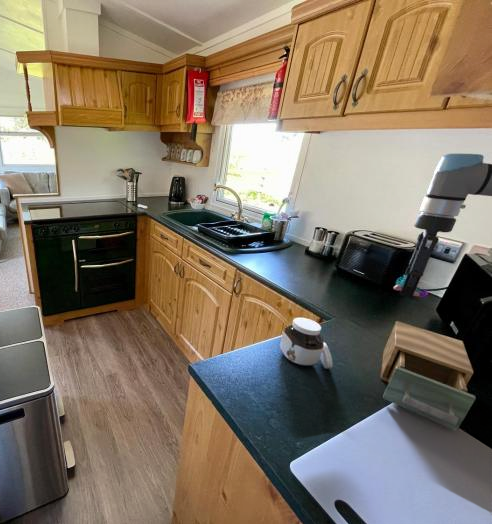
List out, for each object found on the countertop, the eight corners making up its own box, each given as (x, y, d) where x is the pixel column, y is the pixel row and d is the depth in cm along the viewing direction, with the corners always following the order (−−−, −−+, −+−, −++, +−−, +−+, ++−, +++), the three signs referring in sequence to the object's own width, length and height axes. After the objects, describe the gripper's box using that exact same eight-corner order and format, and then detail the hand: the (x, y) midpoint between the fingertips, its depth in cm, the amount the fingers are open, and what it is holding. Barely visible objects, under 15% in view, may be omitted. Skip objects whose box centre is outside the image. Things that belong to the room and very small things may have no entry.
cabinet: (453, 408, 68) (473, 372, 65) (380, 379, 77) (395, 345, 73) (445, 373, 81) (462, 341, 77) (383, 351, 89) (396, 320, 85)
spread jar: (273, 349, 86) (282, 315, 82) (305, 345, 89) (315, 312, 85) (303, 377, 75) (315, 340, 71) (338, 372, 78) (351, 336, 74)
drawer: (461, 451, 57) (482, 417, 54) (381, 414, 64) (395, 382, 61) (448, 391, 73) (464, 362, 70) (385, 366, 80) (397, 340, 77)
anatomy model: (420, 286, 78) (435, 281, 80) (387, 275, 85) (403, 270, 87) (414, 302, 80) (430, 297, 82) (383, 290, 87) (398, 286, 89)
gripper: (462, 222, 67) (423, 308, 75) (453, 213, 82) (421, 286, 90) (419, 216, 72) (387, 298, 80) (418, 209, 87) (391, 279, 94)
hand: (405, 291), depth 85 cm, fingers closed on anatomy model, 8 cm apart
